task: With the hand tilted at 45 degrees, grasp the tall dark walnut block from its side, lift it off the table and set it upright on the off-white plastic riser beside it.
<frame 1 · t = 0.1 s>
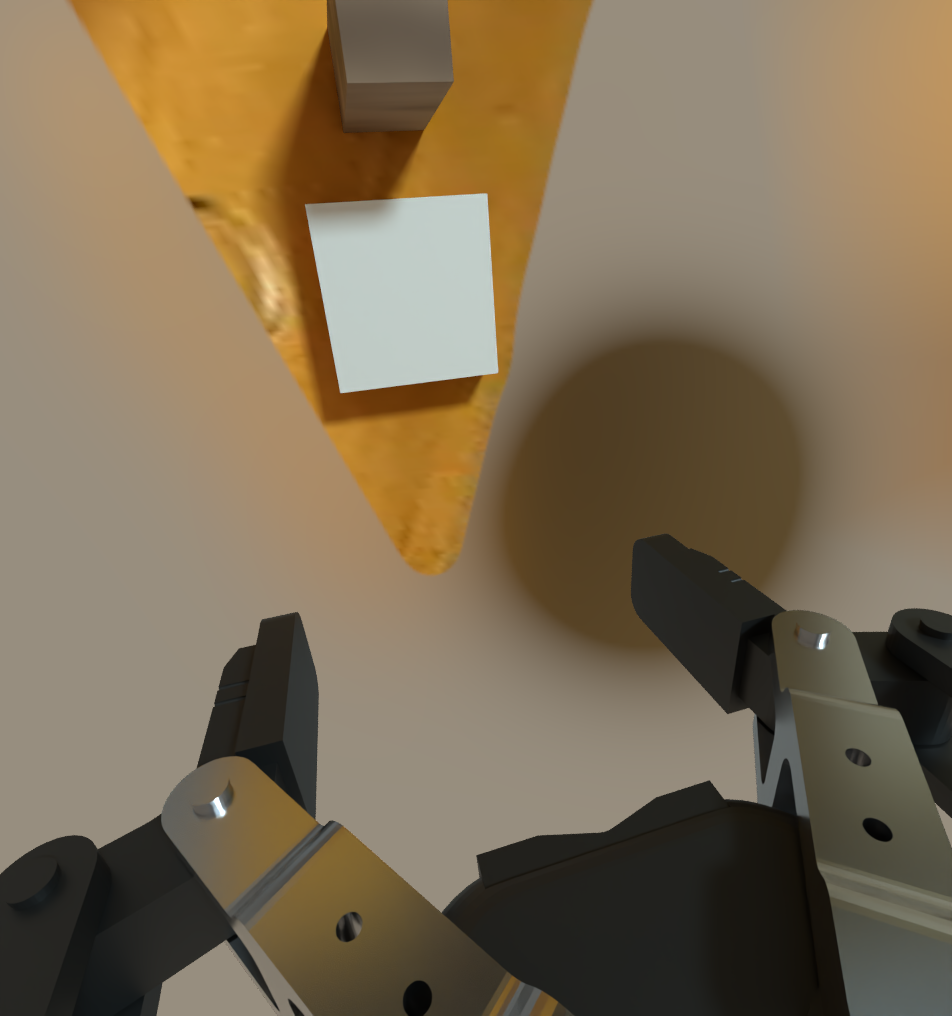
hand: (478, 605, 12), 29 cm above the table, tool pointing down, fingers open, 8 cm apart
riser: (405, 295, 36), on the table
walnut block: (378, 81, 31), on the table
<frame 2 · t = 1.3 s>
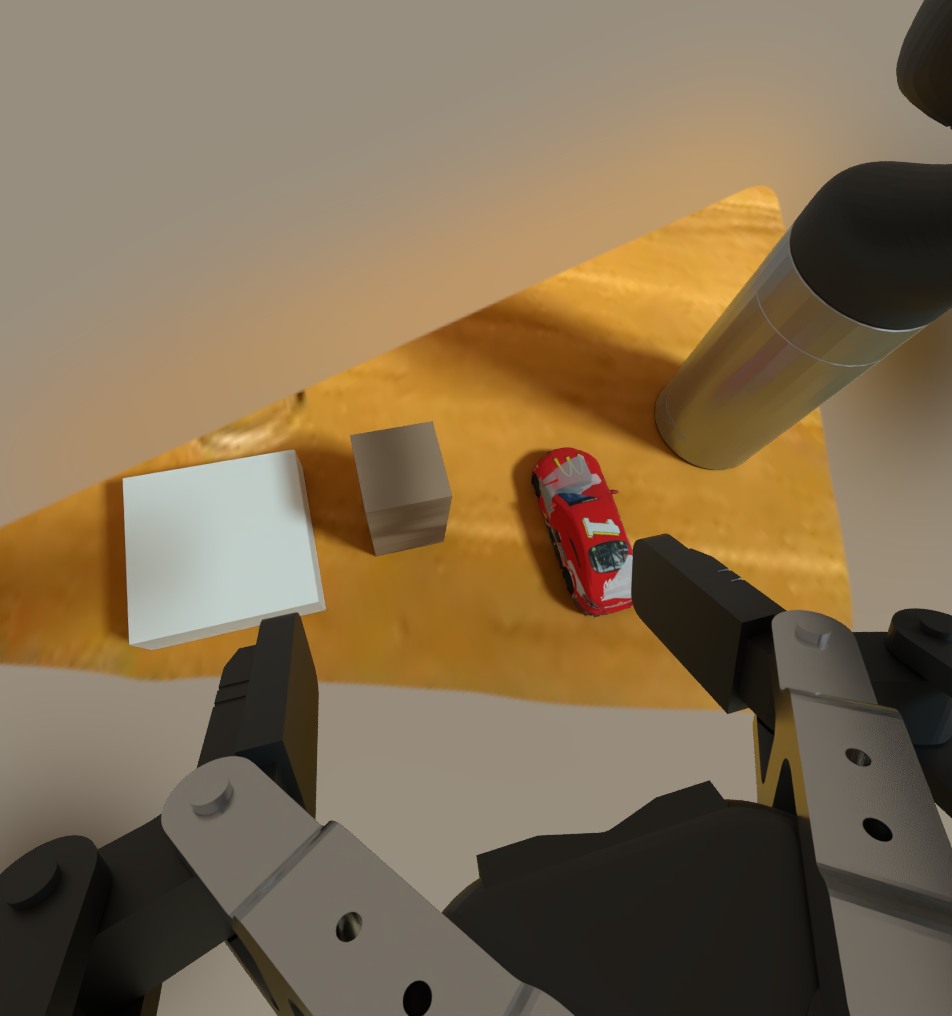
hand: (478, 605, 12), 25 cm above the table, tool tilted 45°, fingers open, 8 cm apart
riser: (233, 551, 36), on the table
race car: (579, 533, 40), on the table
walnut block: (403, 517, 39), on the table
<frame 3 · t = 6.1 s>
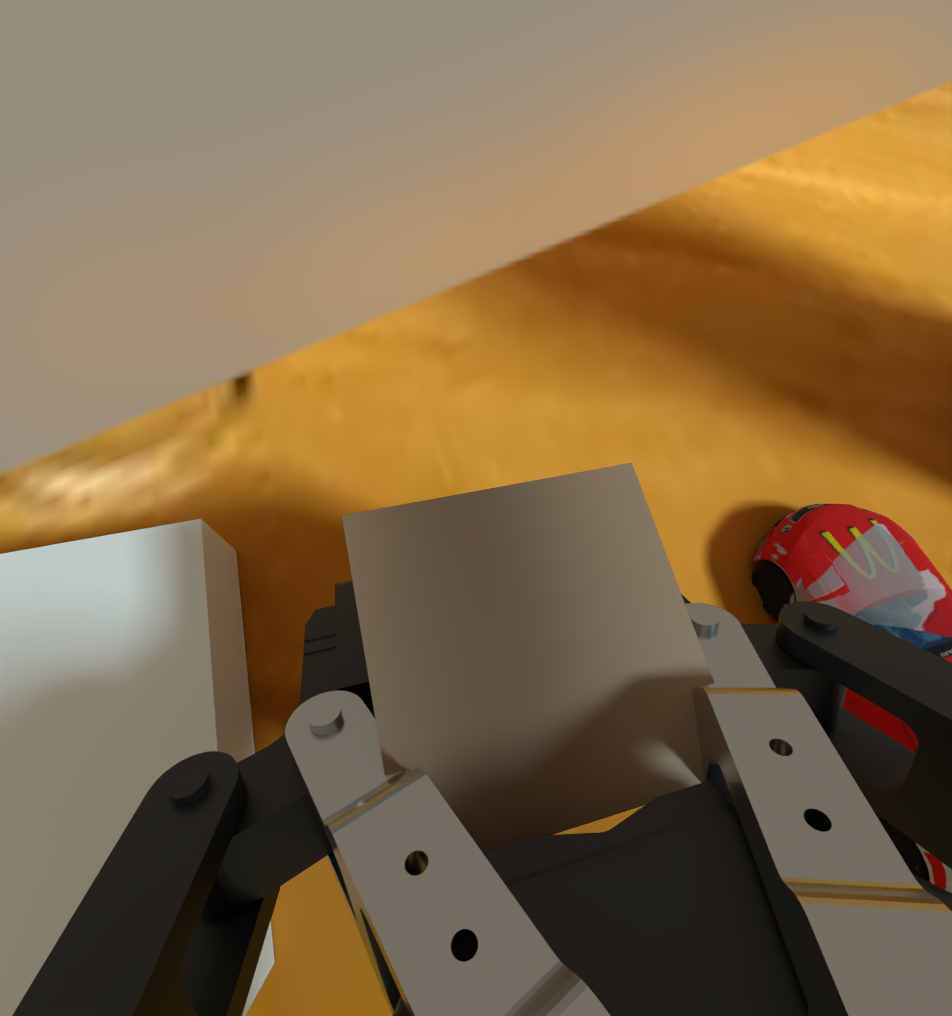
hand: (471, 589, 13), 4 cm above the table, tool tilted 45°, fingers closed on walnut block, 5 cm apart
riser: (36, 786, 14), on the table
race car: (867, 698, 18), on the table
walnut block: (472, 675, 16), on the table, touching gripper
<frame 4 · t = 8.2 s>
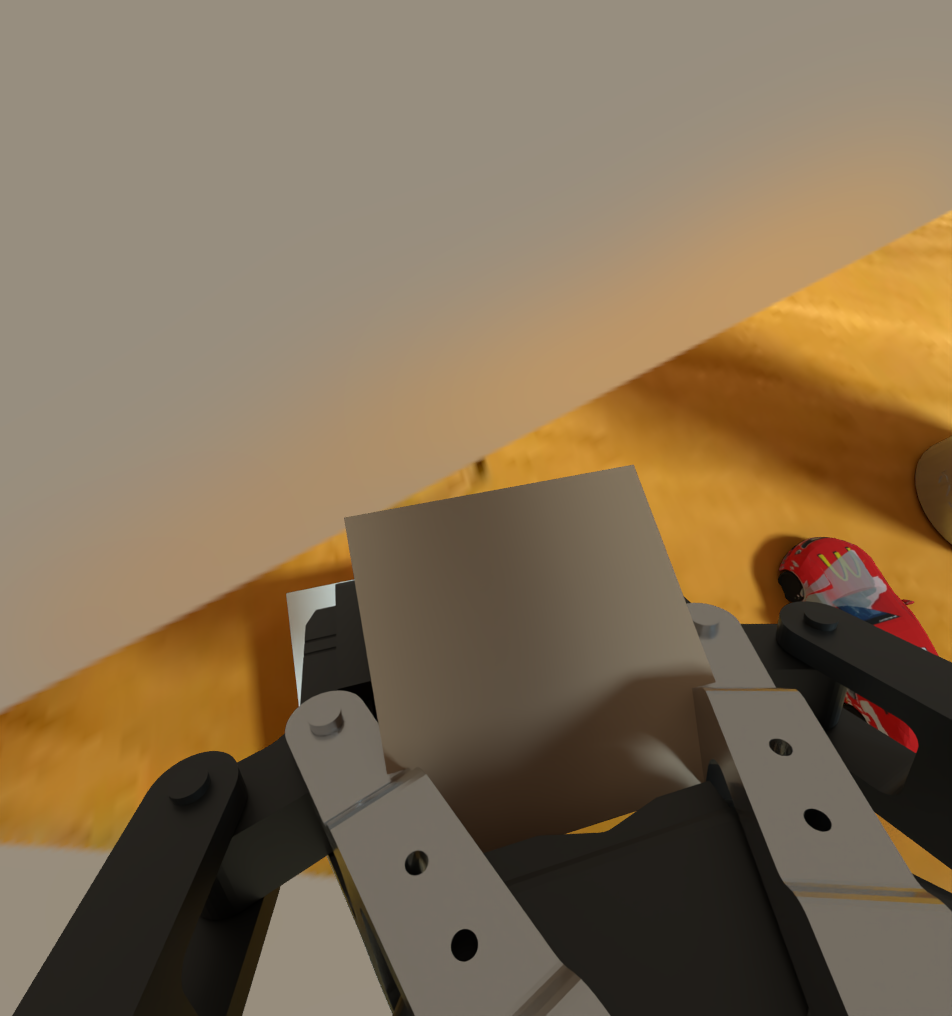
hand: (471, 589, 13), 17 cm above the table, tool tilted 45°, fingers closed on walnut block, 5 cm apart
riser: (418, 684, 28), on the table
race car: (844, 648, 31), on the table
walnut block: (473, 677, 16), point 12 cm above the table, touching gripper
when the fingers open (8 cm above the table, at t = 10.3 s): walnut block stays where it is, resting on riser.
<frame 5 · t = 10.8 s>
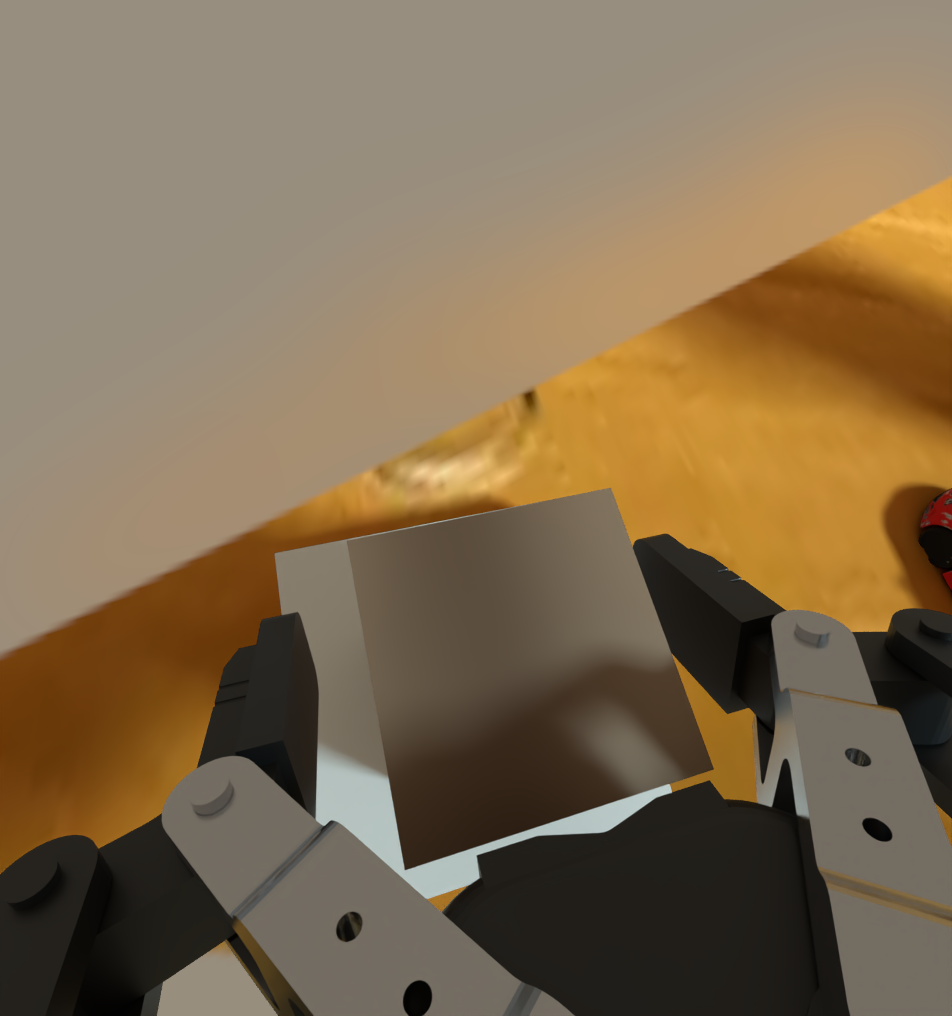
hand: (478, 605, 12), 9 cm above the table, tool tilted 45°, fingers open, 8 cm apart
riser: (460, 682, 20), on the table
walnut block: (468, 680, 17), point 3 cm above the table, touching riser
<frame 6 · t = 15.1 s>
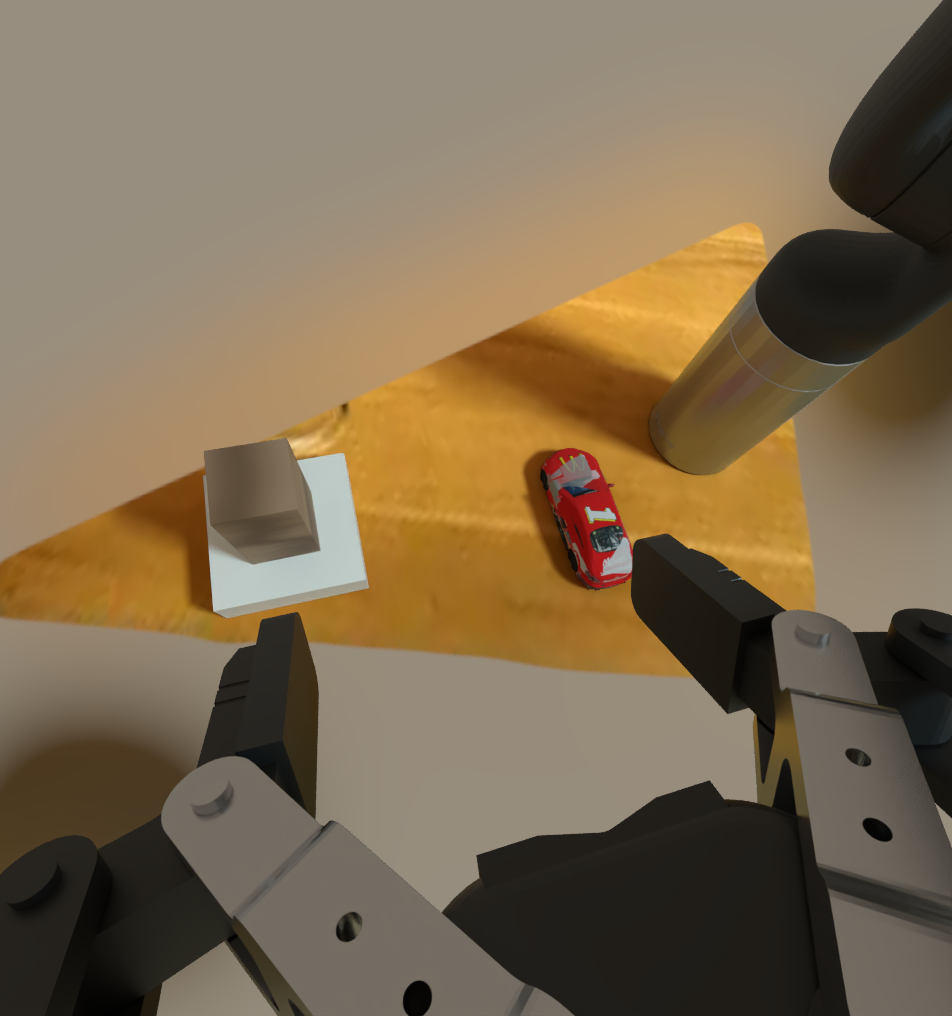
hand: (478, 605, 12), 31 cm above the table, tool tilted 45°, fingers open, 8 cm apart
riser: (291, 538, 43), on the table
race car: (581, 520, 47), on the table
walnut block: (283, 527, 41), point 3 cm above the table, touching riser
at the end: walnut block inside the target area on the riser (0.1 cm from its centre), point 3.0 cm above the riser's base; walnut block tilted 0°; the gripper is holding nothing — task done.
